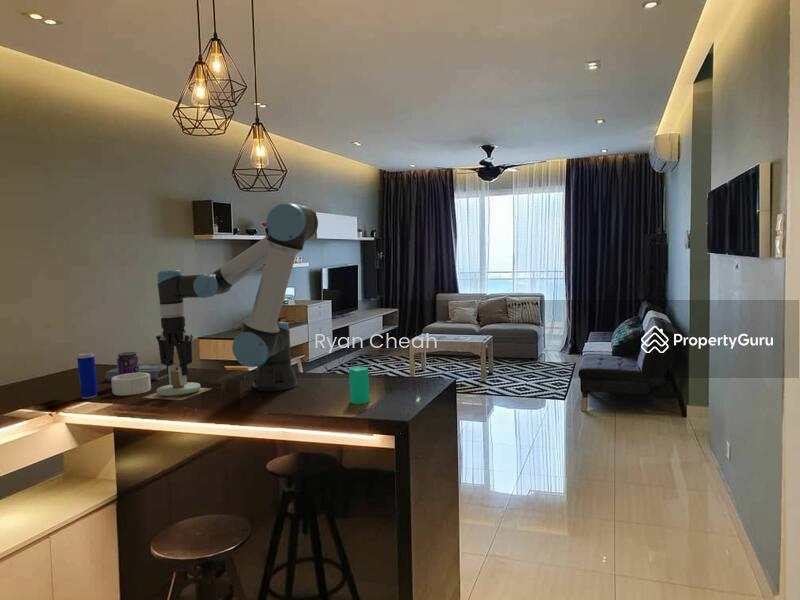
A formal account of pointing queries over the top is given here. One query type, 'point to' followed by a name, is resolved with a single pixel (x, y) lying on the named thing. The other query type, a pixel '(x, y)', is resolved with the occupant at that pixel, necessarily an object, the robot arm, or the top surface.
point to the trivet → (177, 397)
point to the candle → (359, 385)
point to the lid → (177, 387)
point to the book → (145, 371)
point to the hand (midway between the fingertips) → (178, 384)
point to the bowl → (131, 383)
